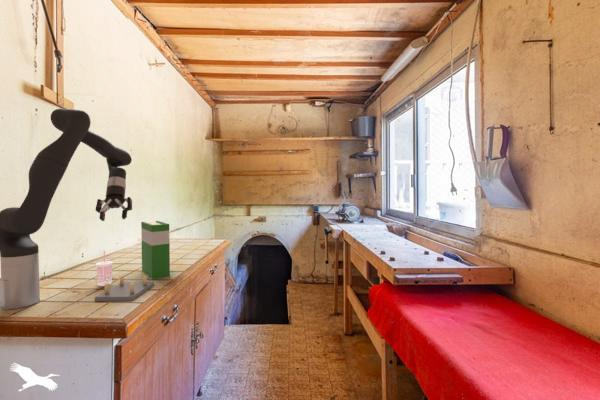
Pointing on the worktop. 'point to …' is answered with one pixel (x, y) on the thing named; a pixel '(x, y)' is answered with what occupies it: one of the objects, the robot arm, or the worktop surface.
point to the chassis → (124, 290)
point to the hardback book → (155, 249)
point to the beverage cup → (104, 272)
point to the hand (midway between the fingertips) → (113, 219)
